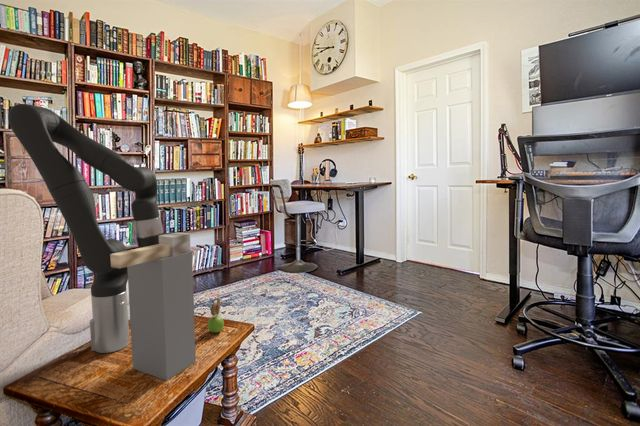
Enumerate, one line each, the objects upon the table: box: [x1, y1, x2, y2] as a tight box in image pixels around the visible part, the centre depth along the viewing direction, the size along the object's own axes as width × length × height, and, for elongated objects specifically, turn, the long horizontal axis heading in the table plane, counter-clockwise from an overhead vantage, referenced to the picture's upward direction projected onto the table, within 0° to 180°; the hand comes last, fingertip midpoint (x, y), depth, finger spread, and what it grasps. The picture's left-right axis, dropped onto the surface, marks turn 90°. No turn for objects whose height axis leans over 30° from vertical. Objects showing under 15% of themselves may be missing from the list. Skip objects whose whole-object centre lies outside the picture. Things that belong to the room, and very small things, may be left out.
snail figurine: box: [206, 293, 225, 334], centre depth 117 cm, size 5×6×12 cm
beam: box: [110, 231, 192, 269], centre depth 87 cm, size 20×5×5 cm, turn 155°
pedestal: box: [127, 251, 197, 381], centre depth 95 cm, size 10×13×32 cm
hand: (159, 284), depth 107 cm, fingers open, 8 cm apart
